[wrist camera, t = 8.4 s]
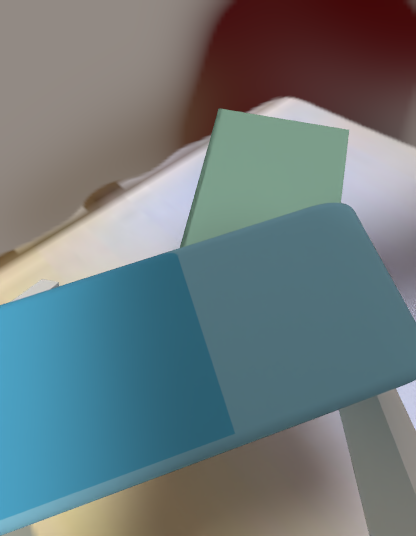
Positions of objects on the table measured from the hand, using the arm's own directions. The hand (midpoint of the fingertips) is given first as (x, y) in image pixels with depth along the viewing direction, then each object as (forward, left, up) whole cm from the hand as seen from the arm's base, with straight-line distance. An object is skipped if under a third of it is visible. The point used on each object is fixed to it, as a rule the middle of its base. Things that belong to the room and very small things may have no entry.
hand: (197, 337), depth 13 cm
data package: (0, +1, -6) cm, 6 cm away
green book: (-2, -16, -17) cm, 24 cm away
